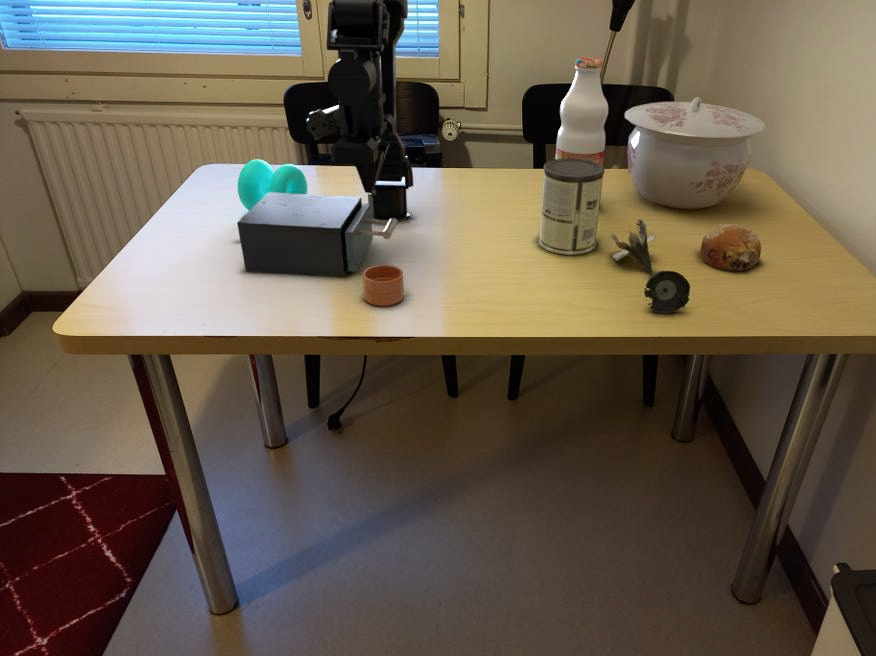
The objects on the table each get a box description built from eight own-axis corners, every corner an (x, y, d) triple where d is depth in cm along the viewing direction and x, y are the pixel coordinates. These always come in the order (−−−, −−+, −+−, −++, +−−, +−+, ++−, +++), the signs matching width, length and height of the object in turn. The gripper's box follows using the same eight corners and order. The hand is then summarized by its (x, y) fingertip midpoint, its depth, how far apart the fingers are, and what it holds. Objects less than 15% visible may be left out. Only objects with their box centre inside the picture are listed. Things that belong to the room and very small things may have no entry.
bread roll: (753, 275, 123) (763, 231, 122) (759, 274, 113) (769, 225, 112) (696, 267, 126) (705, 223, 124) (697, 264, 116) (707, 217, 115)
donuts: (284, 226, 128) (276, 173, 123) (239, 218, 131) (230, 166, 126) (312, 209, 136) (307, 158, 131) (269, 202, 139) (262, 152, 133)
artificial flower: (633, 321, 103) (623, 259, 99) (614, 273, 123) (604, 220, 119) (693, 309, 102) (685, 245, 98) (664, 262, 122) (656, 208, 118)
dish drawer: (402, 241, 121) (401, 204, 118) (387, 273, 110) (385, 234, 107) (288, 235, 123) (283, 198, 119) (262, 266, 112) (256, 227, 108)
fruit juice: (542, 203, 142) (552, 57, 127) (576, 195, 146) (590, 53, 131) (572, 217, 135) (587, 65, 120) (607, 209, 140) (625, 61, 125)
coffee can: (549, 229, 130) (555, 154, 122) (602, 239, 126) (611, 163, 119) (529, 248, 122) (535, 170, 114) (585, 259, 119) (594, 179, 111)
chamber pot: (647, 226, 132) (665, 115, 121) (594, 181, 154) (605, 84, 143) (775, 217, 138) (803, 110, 127) (706, 175, 160) (725, 81, 149)
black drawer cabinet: (364, 242, 123) (361, 196, 118) (344, 277, 111) (340, 228, 106) (275, 237, 124) (268, 192, 119) (245, 271, 112) (236, 222, 107)
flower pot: (394, 286, 108) (393, 262, 106) (410, 302, 104) (409, 277, 102) (358, 294, 106) (356, 269, 104) (373, 311, 101) (372, 285, 99)
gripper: (326, 74, 110) (335, 171, 118) (289, 100, 94) (302, 209, 103) (394, 77, 109) (398, 174, 118) (369, 104, 94) (376, 213, 102)
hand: (369, 191), depth 110 cm, fingers closed
